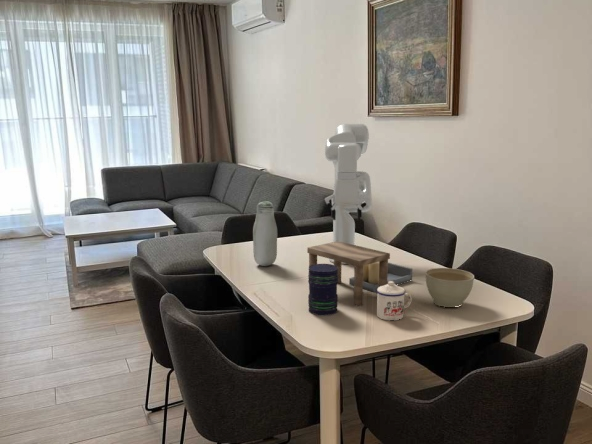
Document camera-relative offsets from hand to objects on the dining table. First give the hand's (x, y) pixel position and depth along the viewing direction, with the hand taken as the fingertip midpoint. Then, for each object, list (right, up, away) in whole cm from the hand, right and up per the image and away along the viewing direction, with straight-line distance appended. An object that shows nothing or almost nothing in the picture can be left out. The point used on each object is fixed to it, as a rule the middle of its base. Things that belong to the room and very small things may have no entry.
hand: (346, 219), depth 224 cm
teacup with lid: (+12, -32, -39) cm, 52 cm away
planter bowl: (+33, -30, -28) cm, 52 cm away
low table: (-1, -27, -15) cm, 31 cm away
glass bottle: (-33, -20, +23) cm, 45 cm away
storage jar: (-11, -31, -34) cm, 47 cm away
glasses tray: (+13, -25, -3) cm, 28 cm away
